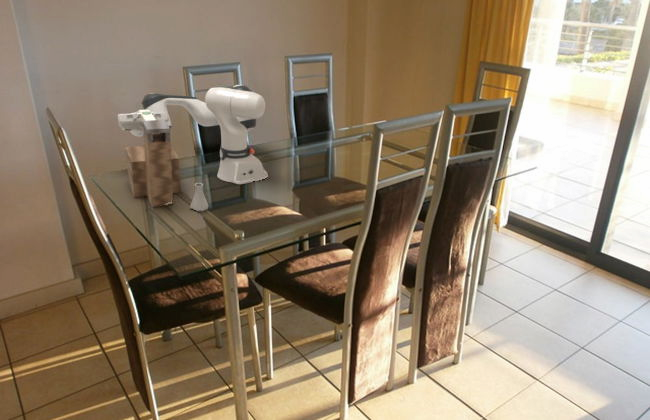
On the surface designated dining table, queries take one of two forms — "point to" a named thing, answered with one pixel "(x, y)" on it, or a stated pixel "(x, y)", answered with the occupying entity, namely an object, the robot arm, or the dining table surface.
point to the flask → (199, 199)
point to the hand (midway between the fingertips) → (145, 114)
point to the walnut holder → (154, 165)
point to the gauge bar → (146, 115)
